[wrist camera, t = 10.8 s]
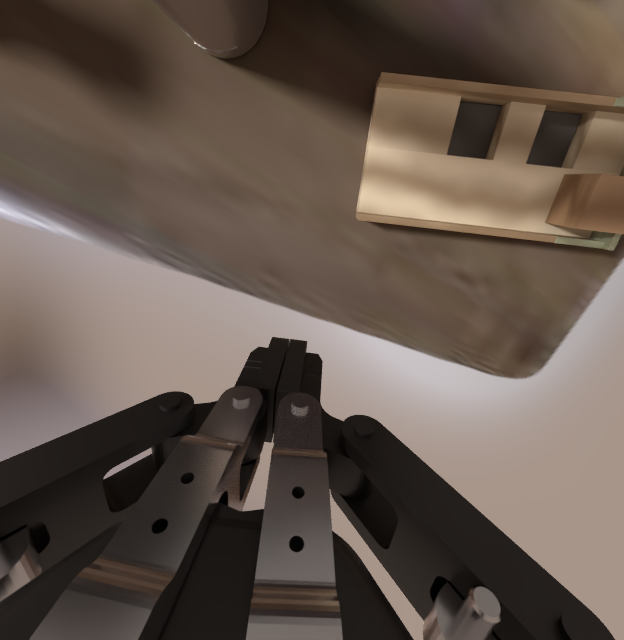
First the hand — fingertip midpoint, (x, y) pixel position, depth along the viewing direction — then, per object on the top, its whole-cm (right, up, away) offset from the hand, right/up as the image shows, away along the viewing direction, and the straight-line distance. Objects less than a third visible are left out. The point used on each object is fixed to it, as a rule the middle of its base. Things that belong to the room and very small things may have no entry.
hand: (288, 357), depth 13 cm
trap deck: (+21, +19, +22) cm, 35 cm away
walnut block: (+31, +15, +21) cm, 40 cm away
